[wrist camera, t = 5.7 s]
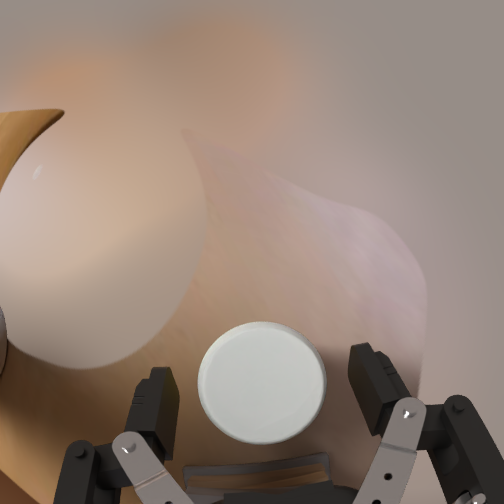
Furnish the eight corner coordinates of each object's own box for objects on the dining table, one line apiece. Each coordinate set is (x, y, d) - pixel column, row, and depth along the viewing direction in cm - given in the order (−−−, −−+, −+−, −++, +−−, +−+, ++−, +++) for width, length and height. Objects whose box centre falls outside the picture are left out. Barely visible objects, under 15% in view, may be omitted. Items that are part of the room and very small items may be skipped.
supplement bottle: (312, 409, 17) (361, 438, 8) (228, 429, 17) (202, 477, 8) (291, 329, 19) (321, 289, 10) (209, 348, 19) (166, 325, 10)
